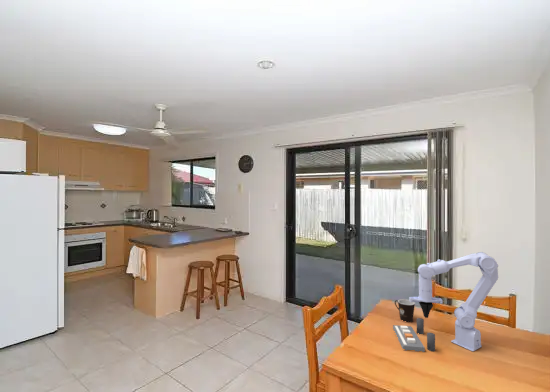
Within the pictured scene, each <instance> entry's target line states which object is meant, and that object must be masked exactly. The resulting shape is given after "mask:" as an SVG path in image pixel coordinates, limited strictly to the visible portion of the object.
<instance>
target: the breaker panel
mask: <svg viewBox="0 0 550 392" xmlns="http://www.w3.org/2000/svg"><path fill="white" fill-rule="evenodd" d="M393 329H394V330H393ZM392 330H393V331H395V332H394V333H396V334H395V336H396V335H397V336H396V338H397V337H398V338H397V339H398V342H399V344H400V346H401V348H402V350H403V349H405V350H404V351H407V350H415V351H414V352H419V351H422V352H423V353H425V351H426V350H425V349H426V348H425V346H424V344H423V343H422V341H421V339H420V338H419V337H418V334H417V332H415V330H414V328H413V327H412V326H411V325H399V324H398V325H395V324H393V325H392Z"/></svg>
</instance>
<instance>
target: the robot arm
mask: <svg viewBox="0 0 550 392" xmlns="http://www.w3.org/2000/svg"><path fill="white" fill-rule="evenodd" d="M436 260H437V261H434V262H427V263H422V264H419V265H418V267H417V272H418V296H409V297H408V300H409V301H410V302H414V303H418V304H419V306H420V307H421V311H422V315H423V317H424V318H425V319H428V318H429V315H430V312H431V310H432V309H433V307H434V304H440V305H441V304H443V299H442V298H440V297H433V281H432V277H433V276H437V275H440V274H445V273H448V272H449V271H450V270H451V269H453V268H454V269H455V268H458V267H464V266H467V265H470V266H472V267H477V268H479V270H480V272H481V273H482V275H481V277H480V278H479V280H478V282H477V283H476V284H475V286H474V288H473V289H472V292H470V294H469V295H468V297H467V298H466V301H465V302H462V303H461V304H460V305H459V307H456V308H455V309H454V312H453V314H454V316H455V317H456V319H455V321H454V330H455V332H454V334H455V335H454V337H455V338H454V339H452V340H450V342H451V343H453V344H455V345H457V346H459V347H462V348H464V349H466V350H469V351H471V352H474V351H477V350H478V349H480V348H482V341H481V340H482V337H481V336H482V333H481V331H480V330H479V329H477V328H476V327H475V325H476V318H478V316H477V315H478V314H477V313H478V309H479V308H480V307H481V305H482V304H483V302H484V301H485V300H486V298H487V297H488V295H489V293H490V292H491V290H492V289H493V287H494V286H495V284H496V283H497V281H498V279H499V271H498V270H499V268H498V267H499V264H498V262H497V261H496V260H495V258H494V257H492V256H490V255H488V254H487V253H486V252H483V251H480V252H476V253H475V252H474V253H470V254H467V255H464V256H461V257H458V258H453V259H452V260H451V259H450V260H448V261H446V260H444V259H436Z"/></svg>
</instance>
